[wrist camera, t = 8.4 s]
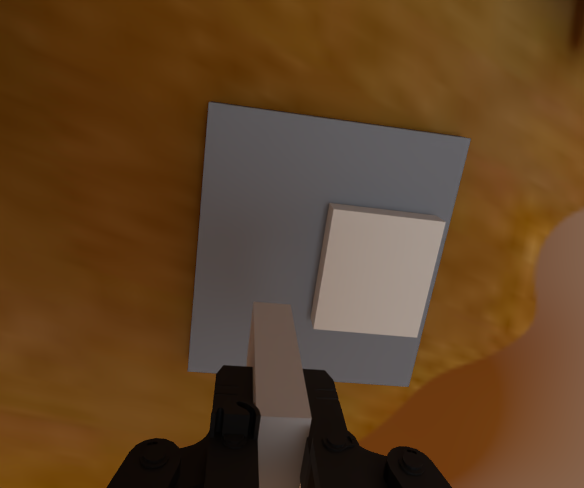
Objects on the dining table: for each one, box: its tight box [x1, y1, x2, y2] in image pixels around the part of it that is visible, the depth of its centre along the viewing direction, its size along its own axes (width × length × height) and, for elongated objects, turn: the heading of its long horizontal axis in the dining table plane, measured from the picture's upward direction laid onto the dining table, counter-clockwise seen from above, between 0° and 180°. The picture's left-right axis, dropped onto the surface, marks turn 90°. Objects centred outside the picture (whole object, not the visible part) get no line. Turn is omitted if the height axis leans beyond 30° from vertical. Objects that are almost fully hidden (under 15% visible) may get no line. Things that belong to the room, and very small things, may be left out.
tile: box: [310, 203, 446, 338], centre depth 29 cm, size 8×2×7 cm
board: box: [188, 102, 471, 387], centre depth 31 cm, size 18×16×2 cm
